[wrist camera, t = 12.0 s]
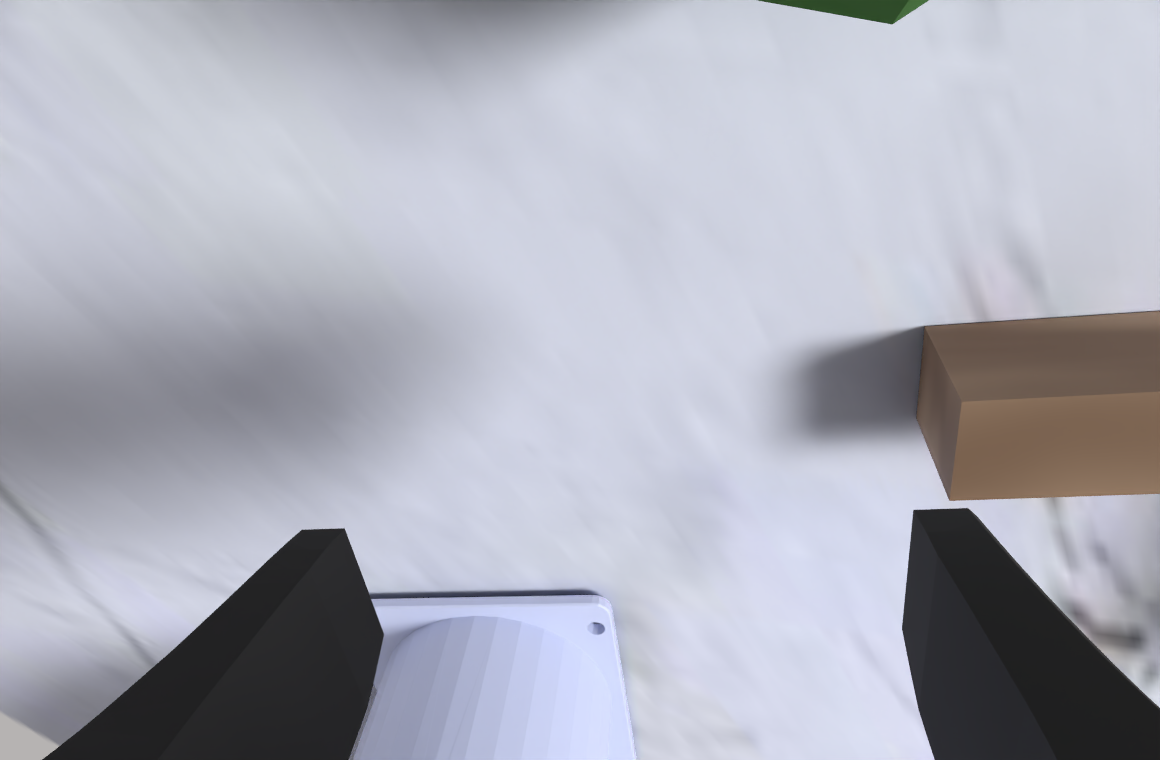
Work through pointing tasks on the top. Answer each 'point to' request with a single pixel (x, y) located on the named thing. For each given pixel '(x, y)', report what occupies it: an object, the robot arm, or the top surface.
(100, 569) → the top surface
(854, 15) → the bell pepper
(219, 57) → the top surface
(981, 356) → the wall board
